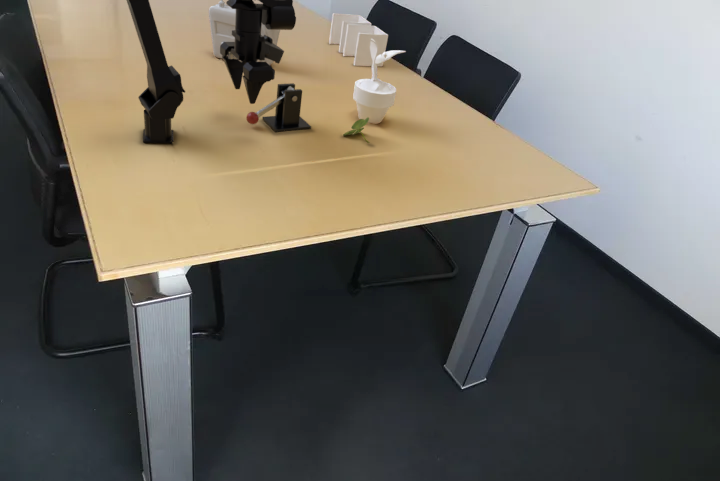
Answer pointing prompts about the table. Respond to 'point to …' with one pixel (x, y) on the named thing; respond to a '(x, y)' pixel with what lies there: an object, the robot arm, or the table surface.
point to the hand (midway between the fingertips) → (244, 96)
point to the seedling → (358, 127)
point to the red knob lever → (265, 108)
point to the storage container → (356, 37)
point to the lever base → (287, 111)
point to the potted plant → (375, 89)
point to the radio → (230, 28)
